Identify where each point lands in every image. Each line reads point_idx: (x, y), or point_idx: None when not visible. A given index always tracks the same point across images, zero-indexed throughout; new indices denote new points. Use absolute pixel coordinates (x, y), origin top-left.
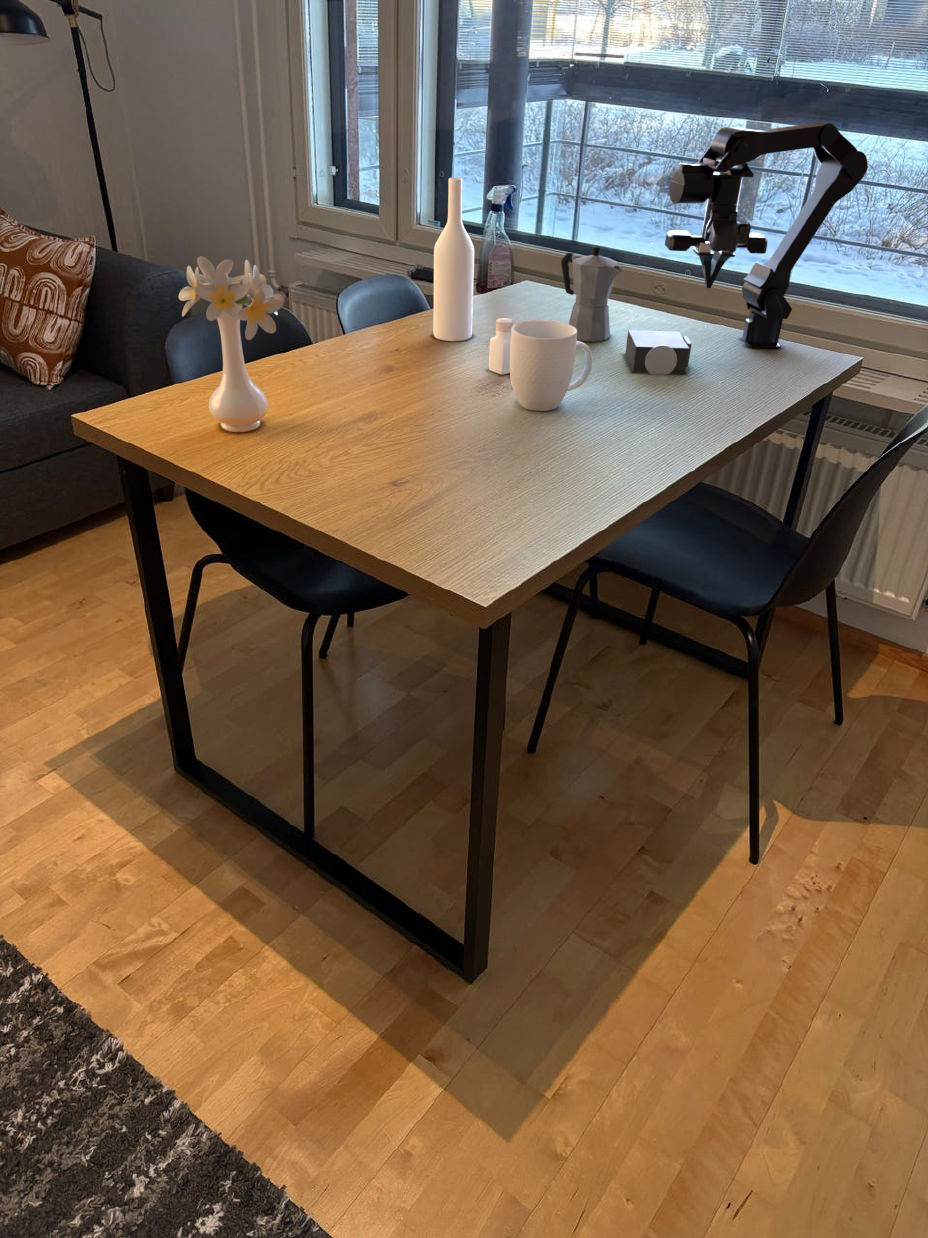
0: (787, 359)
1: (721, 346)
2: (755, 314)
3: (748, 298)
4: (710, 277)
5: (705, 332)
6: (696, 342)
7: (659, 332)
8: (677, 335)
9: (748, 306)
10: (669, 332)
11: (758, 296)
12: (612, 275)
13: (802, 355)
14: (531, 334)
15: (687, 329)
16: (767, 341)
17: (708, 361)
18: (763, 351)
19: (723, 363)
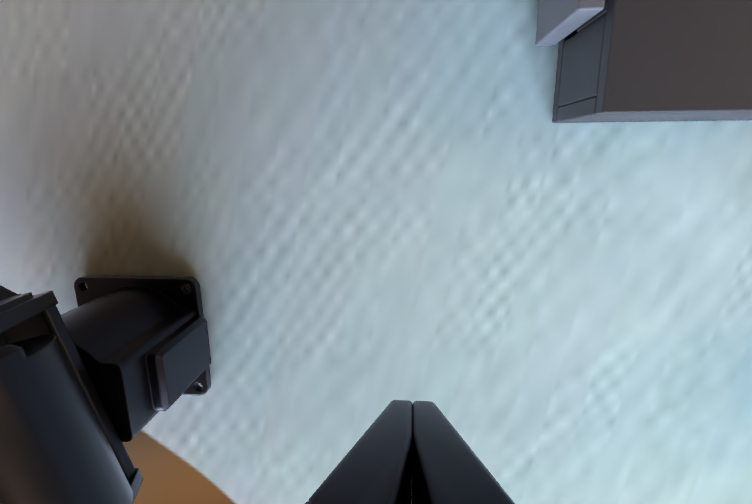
0: (65, 138)
1: (308, 290)
2: (109, 386)
3: (101, 446)
4: (407, 485)
5: (339, 459)
6: (402, 335)
7: (740, 74)
8: (637, 17)
9: (129, 479)
10: (671, 80)
11: (8, 354)
12: None
13: (4, 200)
14: None
15: None
16: (115, 290)
17: (407, 65)
18: (148, 238)
19: (343, 42)
